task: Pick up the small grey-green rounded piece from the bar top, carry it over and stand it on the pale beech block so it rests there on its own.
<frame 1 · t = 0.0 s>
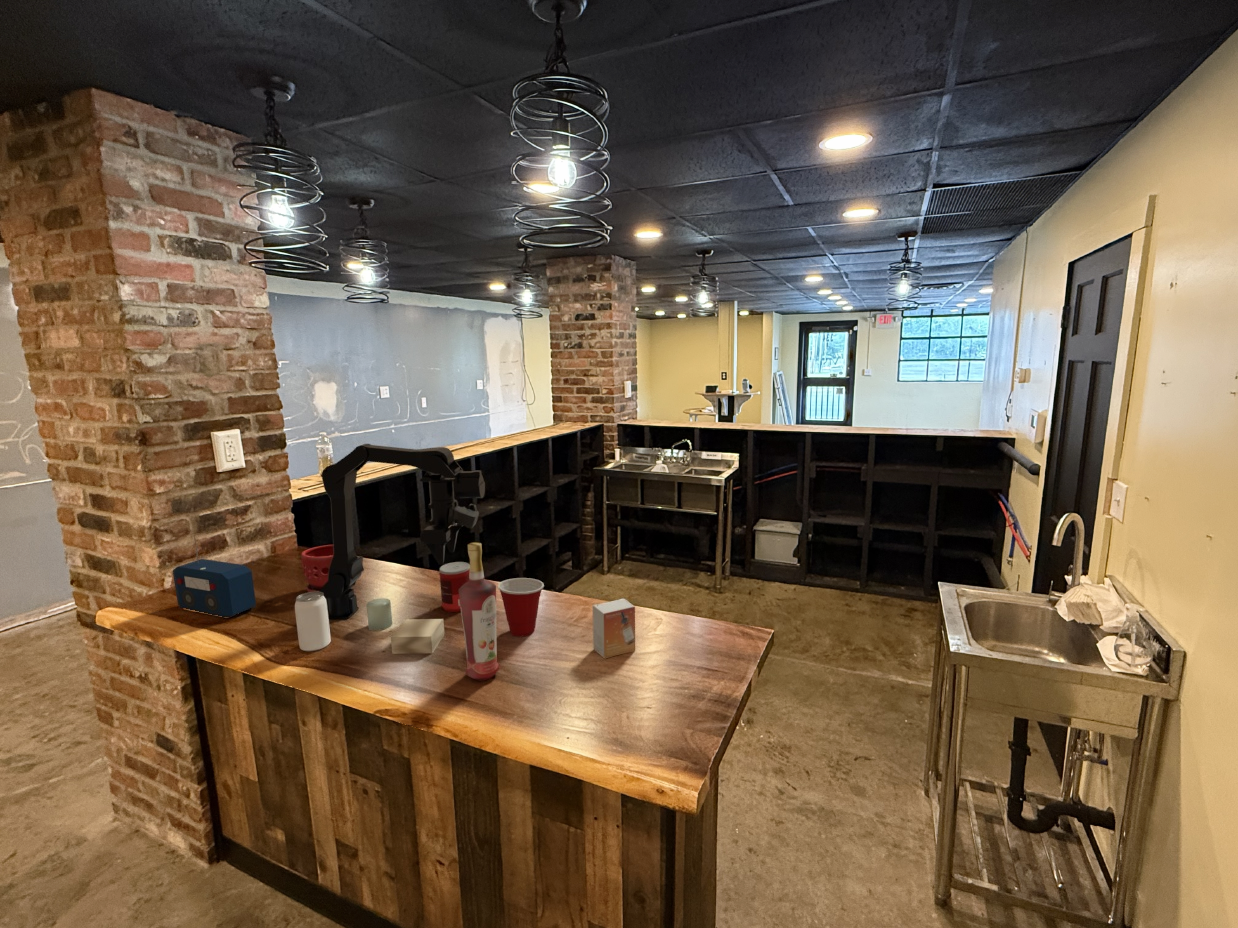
hand: (446, 558, 151), 15 cm above the table, tool pointing down, fingers open, 9 cm apart
plant pot: (331, 590, 171), on the table
can: (315, 646, 137), on the table
liquor: (483, 675, 123), on the table
beech block: (419, 643, 137), on the table
canned food: (457, 607, 157), on the table
radio: (216, 610, 158), on the table
grey-green rounded piece: (380, 625, 147), on the table
plastic cup: (523, 631, 142), on the table
small box: (614, 650, 132), on the table
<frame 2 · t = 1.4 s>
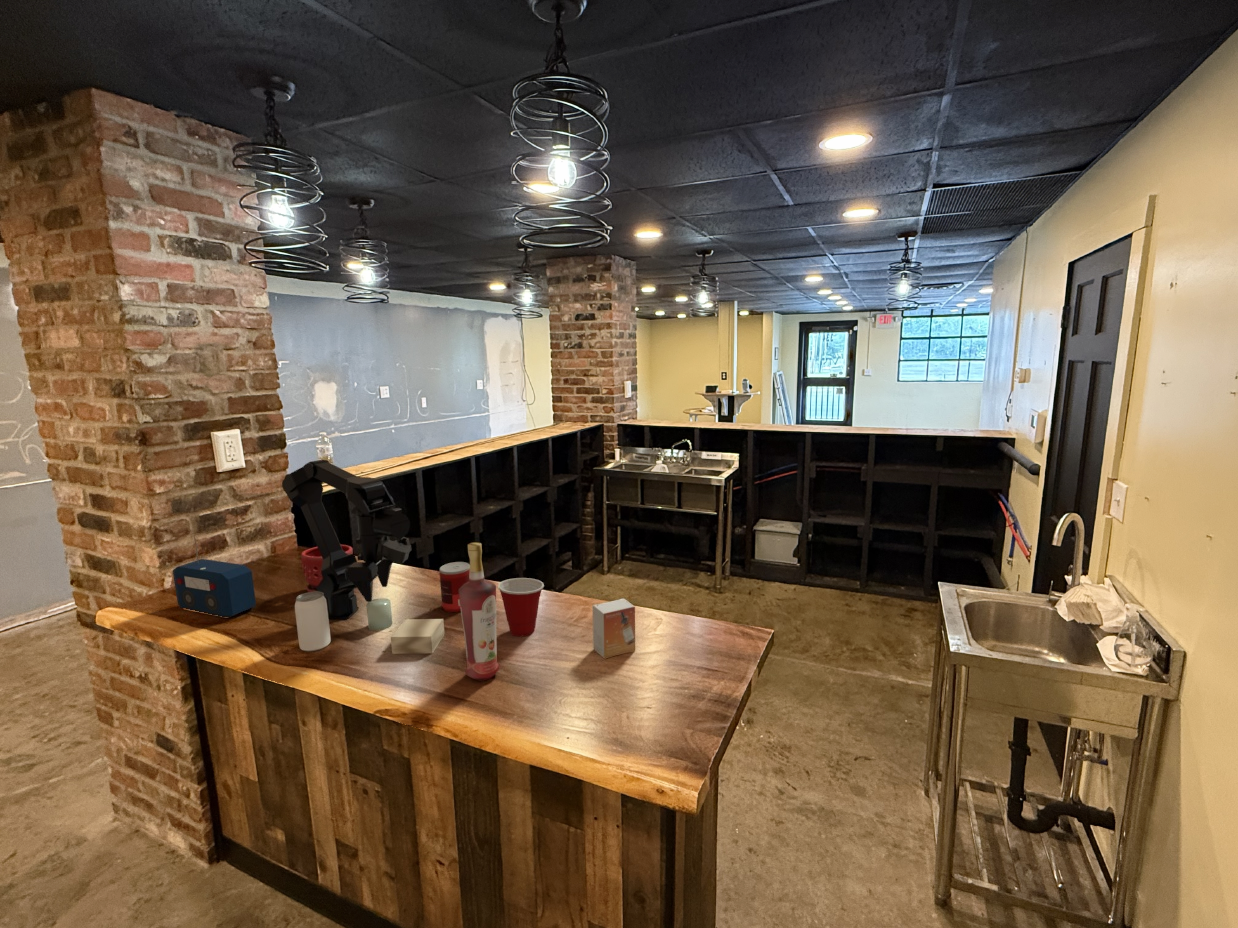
hand: (377, 593, 145), 8 cm above the table, tool pointing down, fingers open, 9 cm apart
nothing on the table moved.
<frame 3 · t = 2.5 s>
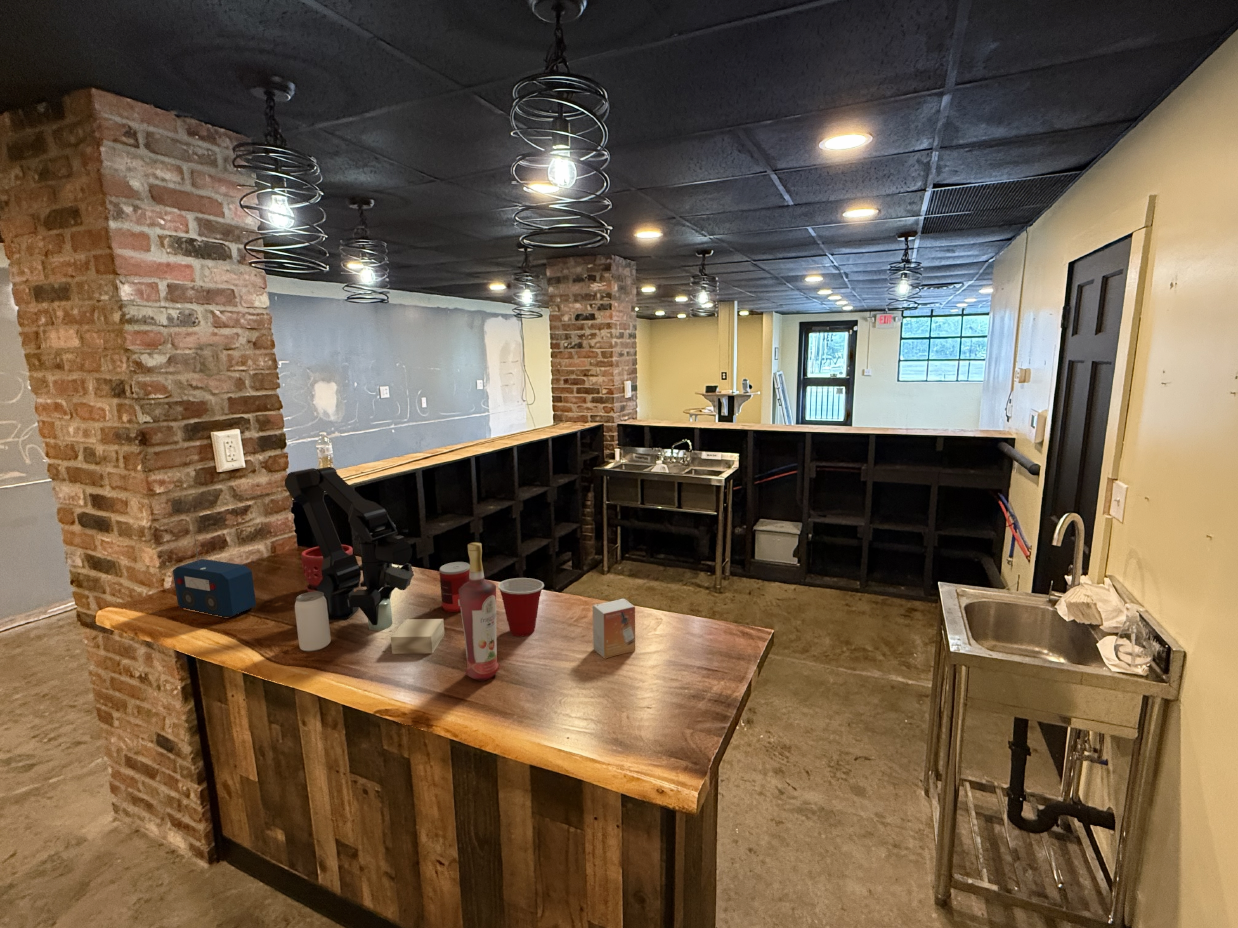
hand: (380, 619, 146), 2 cm above the table, tool pointing down, fingers closed on grey-green rounded piece, 5 cm apart
grey-green rounded piece: (380, 625, 147), on the table, touching gripper
everything else where it was.
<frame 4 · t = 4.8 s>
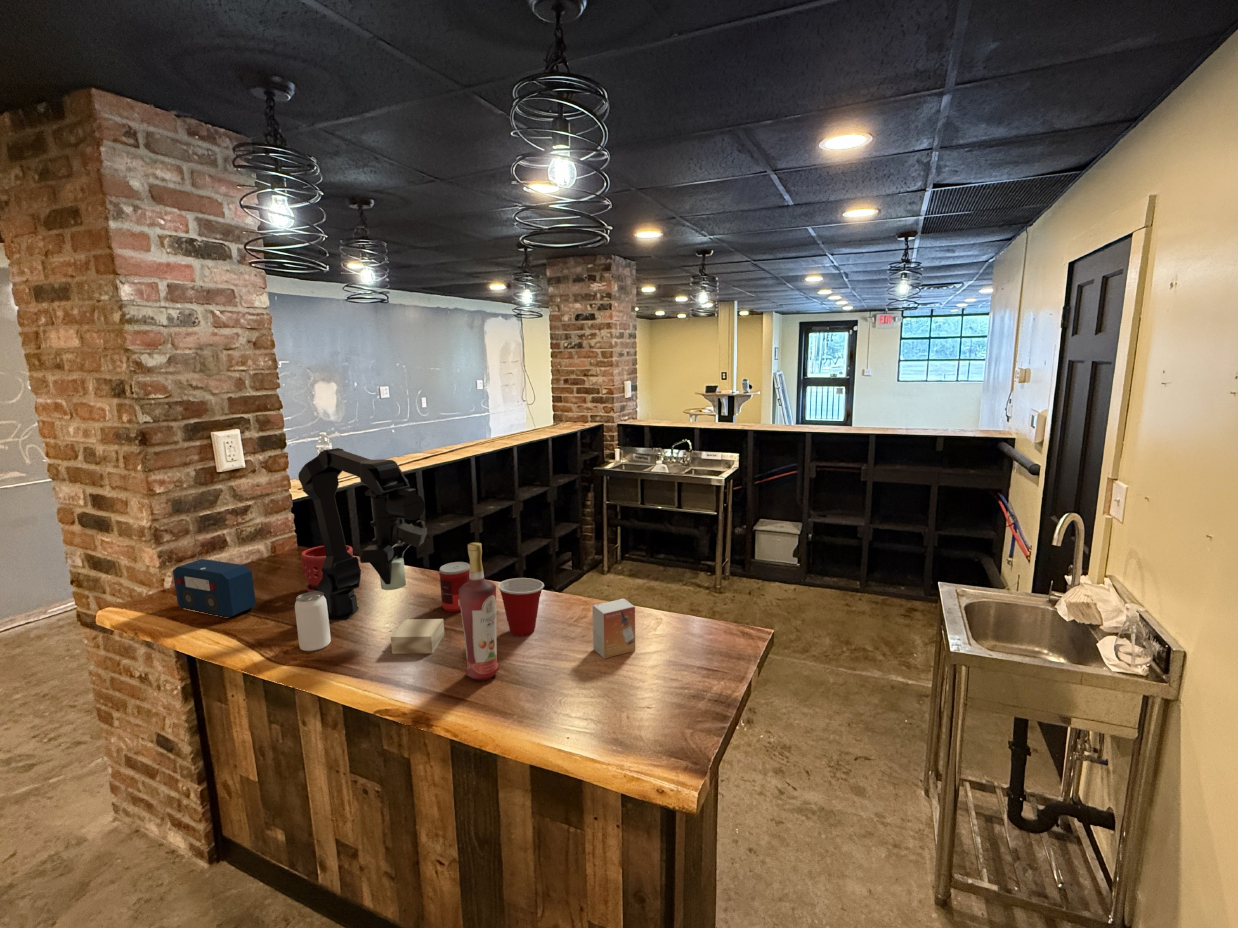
hand: (393, 579, 140), 14 cm above the table, tool pointing down, fingers closed on grey-green rounded piece, 5 cm apart
grey-green rounded piece: (393, 585, 140), point 12 cm above the table, touching gripper
everything else where it was.
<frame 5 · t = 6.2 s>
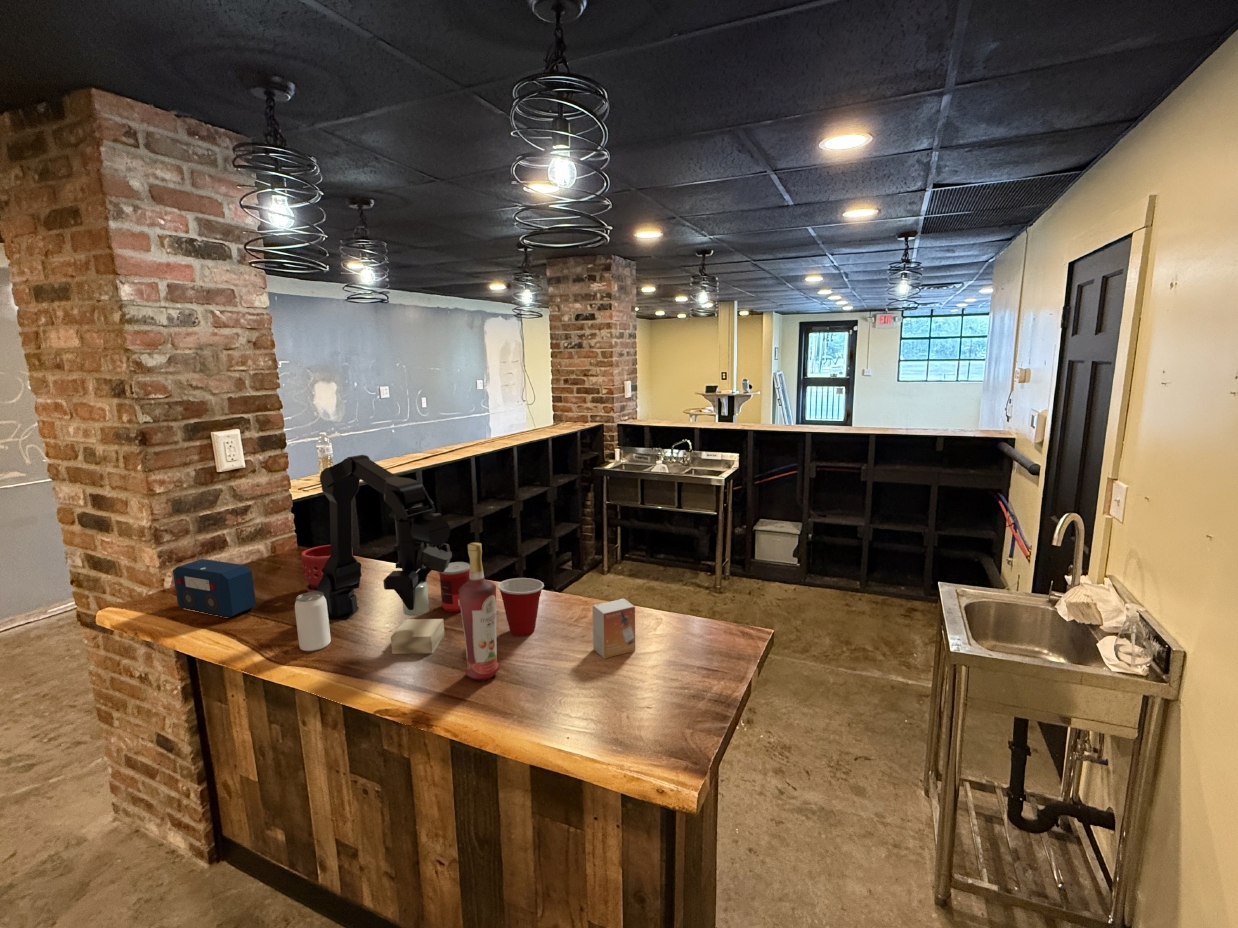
hand: (415, 604, 135), 10 cm above the table, tool pointing down, fingers closed on grey-green rounded piece, 5 cm apart
grey-green rounded piece: (416, 610, 135), point 8 cm above the table, touching gripper
everything else where it was.
when the fingers open (6 cm above the table, at t = 7.3 s): grey-green rounded piece stays where it is, resting on beech block.
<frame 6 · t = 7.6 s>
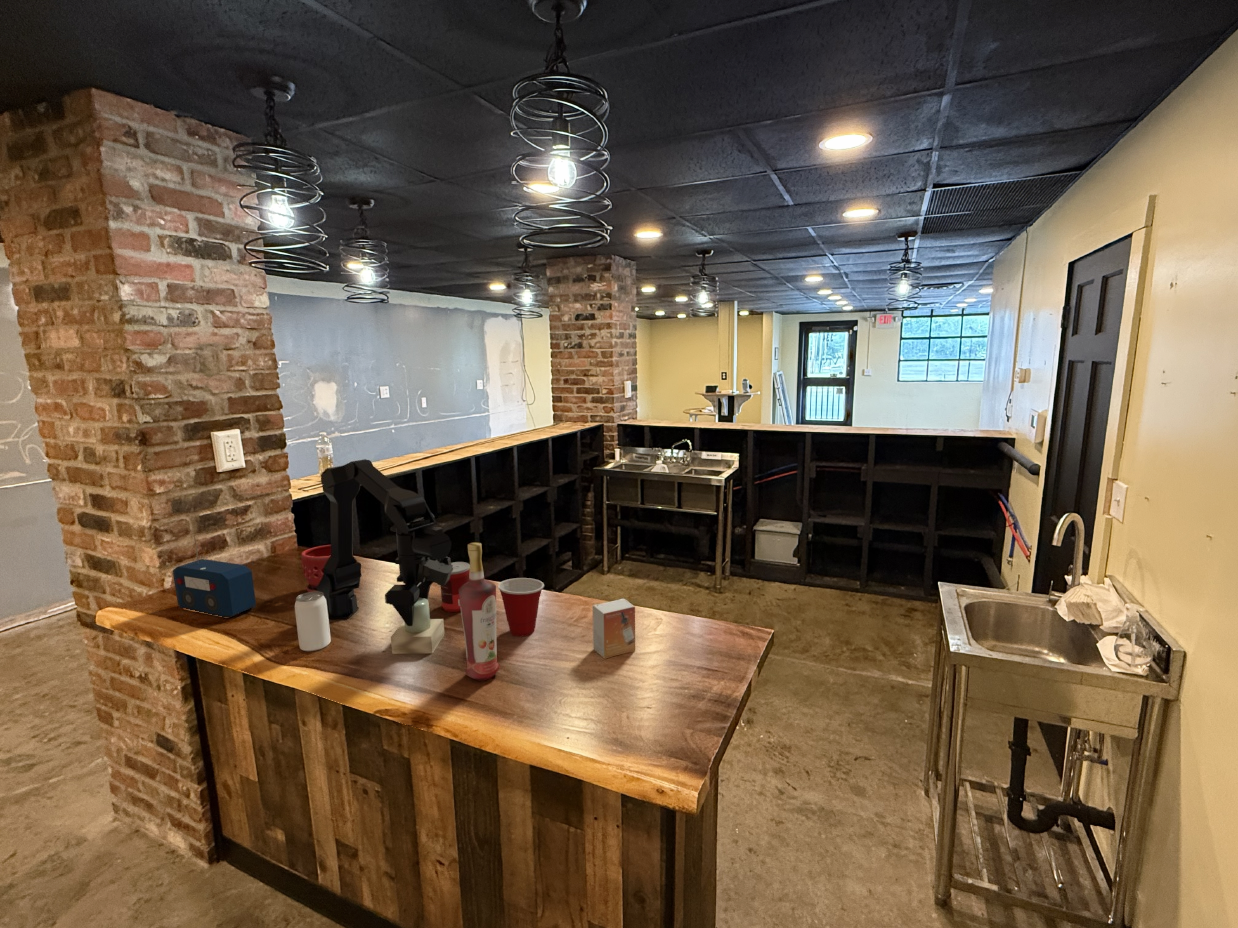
hand: (416, 617, 135), 6 cm above the table, tool pointing down, fingers open, 8 cm apart
grey-green rounded piece: (417, 627, 136), point 4 cm above the table, touching beech block
everything else where it was.
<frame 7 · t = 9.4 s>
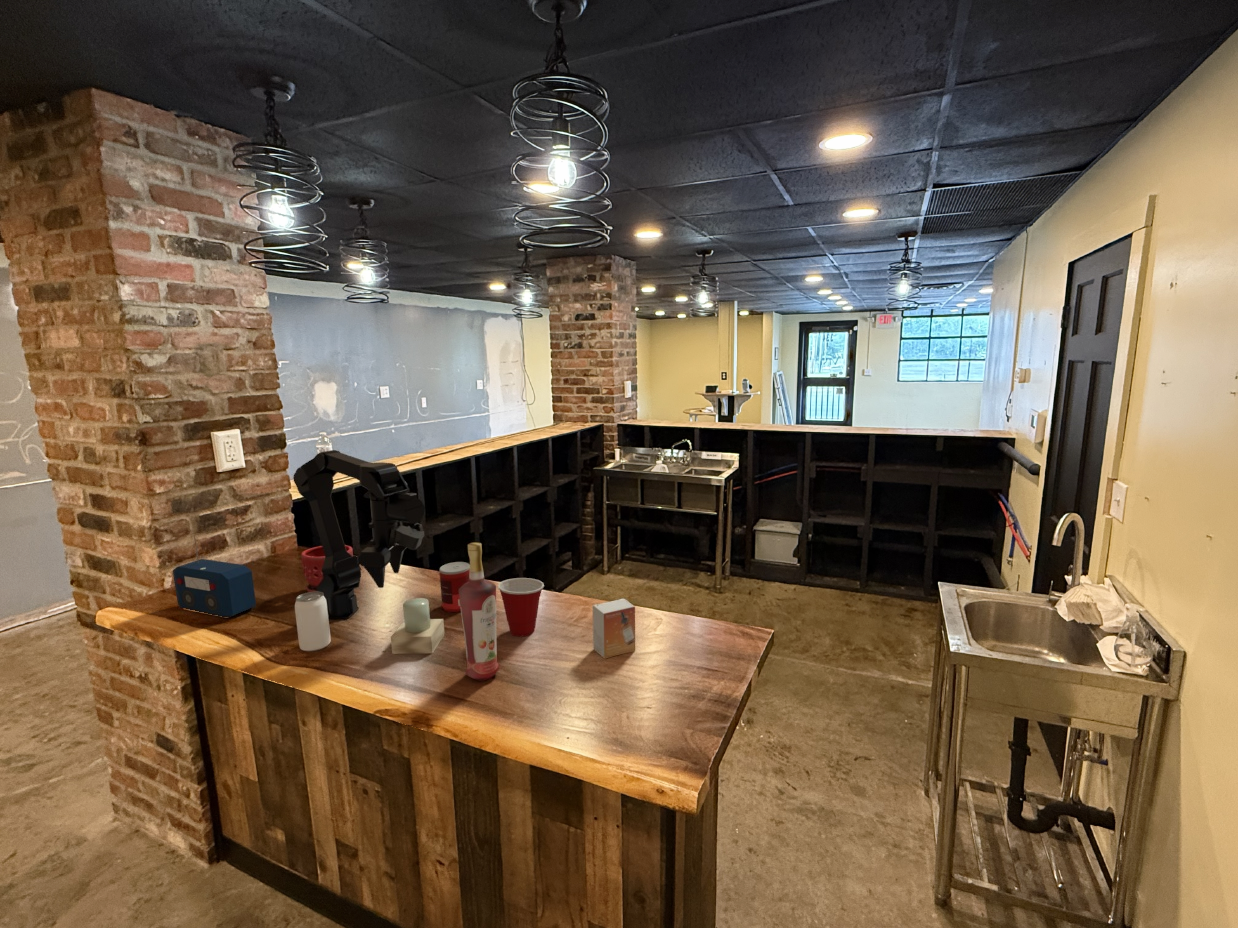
hand: (388, 579, 143), 12 cm above the table, tool pointing down, fingers open, 9 cm apart
nothing on the table moved.
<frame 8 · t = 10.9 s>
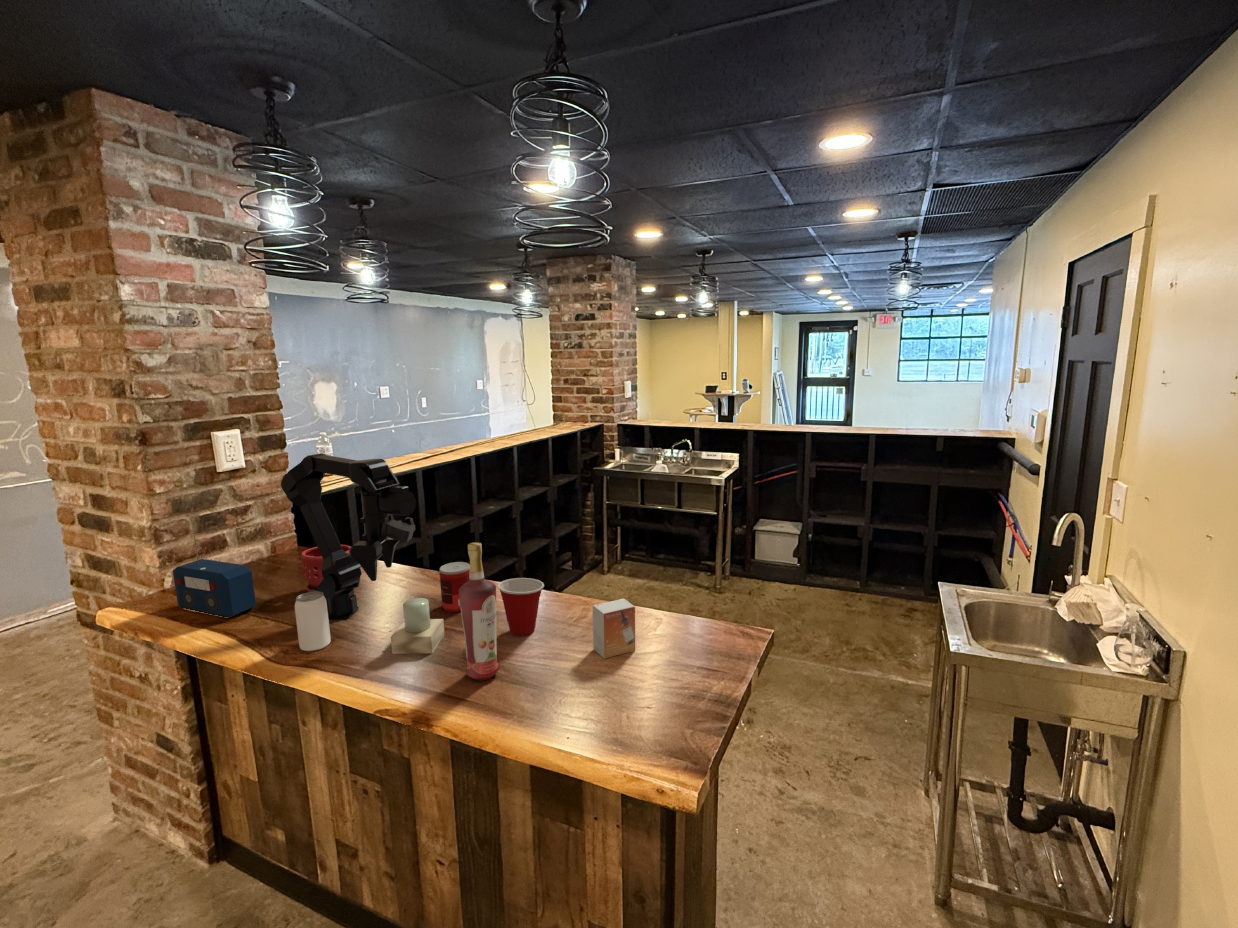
hand: (381, 573, 145), 13 cm above the table, tool pointing down, fingers open, 9 cm apart
nothing on the table moved.
at the end: grey-green rounded piece 0.0 cm off-centre on the beech block, point 4.0 cm above the beech block's base; grey-green rounded piece tilted 0°; the gripper is holding nothing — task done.
